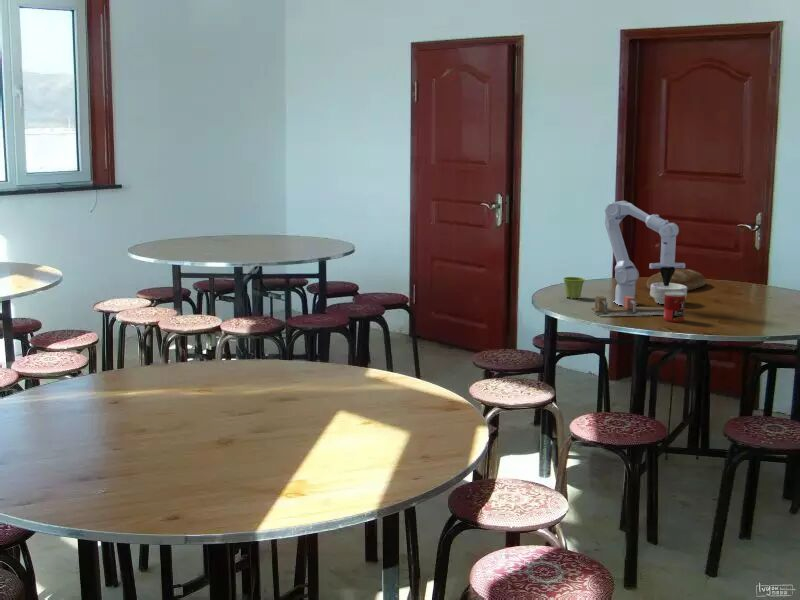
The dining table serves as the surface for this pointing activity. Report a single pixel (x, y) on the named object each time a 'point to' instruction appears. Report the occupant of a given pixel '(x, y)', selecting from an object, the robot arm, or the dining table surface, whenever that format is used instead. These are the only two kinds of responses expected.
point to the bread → (681, 279)
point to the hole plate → (632, 313)
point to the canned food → (674, 306)
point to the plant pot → (573, 286)
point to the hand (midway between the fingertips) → (666, 285)
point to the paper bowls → (665, 290)
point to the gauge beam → (602, 307)
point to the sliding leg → (629, 303)
